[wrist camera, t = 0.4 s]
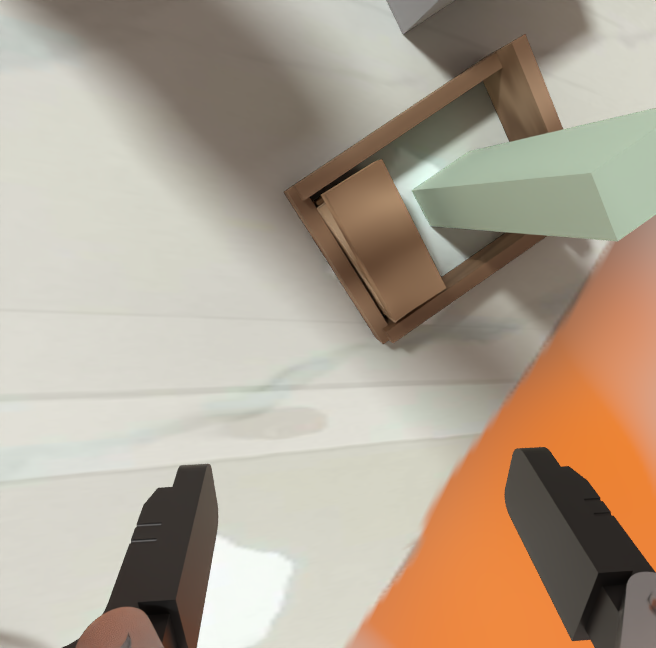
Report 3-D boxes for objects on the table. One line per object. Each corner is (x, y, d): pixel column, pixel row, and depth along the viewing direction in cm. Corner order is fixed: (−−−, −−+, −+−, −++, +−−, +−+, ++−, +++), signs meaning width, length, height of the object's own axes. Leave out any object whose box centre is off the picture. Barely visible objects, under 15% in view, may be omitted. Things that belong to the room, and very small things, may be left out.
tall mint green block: (411, 190, 39) (591, 172, 20) (469, 151, 39) (699, 97, 21) (430, 226, 40) (617, 241, 21) (486, 187, 41) (720, 169, 22)
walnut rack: (283, 191, 37) (293, 189, 32) (487, 55, 38) (525, 33, 33) (375, 338, 42) (395, 354, 37) (554, 213, 43) (596, 213, 38)
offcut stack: (306, 200, 37) (318, 198, 33) (361, 163, 38) (380, 157, 33) (378, 316, 41) (398, 330, 37) (428, 282, 41) (453, 291, 37)
